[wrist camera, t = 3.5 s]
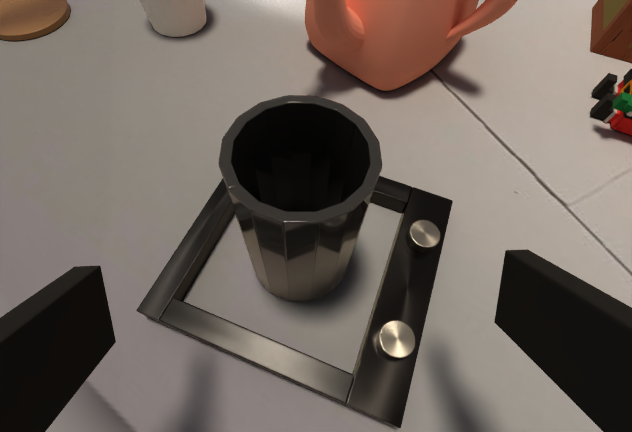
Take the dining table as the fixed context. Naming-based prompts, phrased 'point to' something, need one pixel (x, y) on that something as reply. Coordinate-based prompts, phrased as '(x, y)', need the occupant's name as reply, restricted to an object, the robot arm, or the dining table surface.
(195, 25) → the white cup
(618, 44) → the box
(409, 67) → the pot
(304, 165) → the gray cup
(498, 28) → the dining table surface
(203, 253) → the square frame with knob
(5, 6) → the coaster
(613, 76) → the figurine
